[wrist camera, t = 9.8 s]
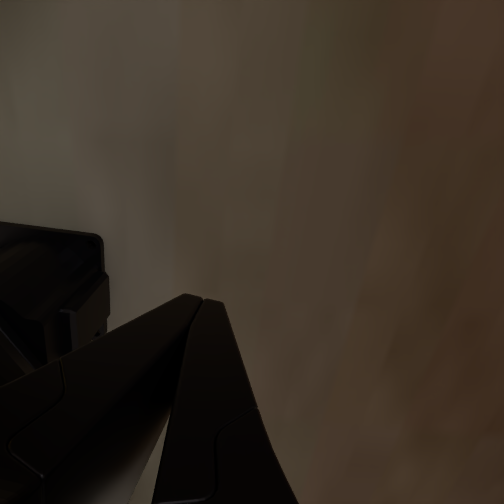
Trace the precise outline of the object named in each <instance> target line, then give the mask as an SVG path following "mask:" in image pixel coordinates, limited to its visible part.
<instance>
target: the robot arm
mask: <svg viewBox="0 0 504 504" xmlns="http://www.w3.org/2000/svg"><path fill="white" fill-rule="evenodd" d="M90 241H94V242H95V244H96V247H94V246H92V245H91V244H90ZM109 315H110V292H109V276H108V275H107V273H106V272H105V265H104V243H103V240H102V238H101V237H100V236H99V235H97V234H94V233H86V232H79V231H71V230H63V229H55V228H47V227H39V226H32V225H24V224H16V223H8V222H0V504H128V502H129V500H130V497H131V495H132V493H133V491H134V489H135V487H136V485H137V483H138V481H139V479H140V476H141V474H142V472H143V470H144V468H145V466H146V464H147V462H148V460H149V457H150V455H151V453H152V451H153V449H154V447H155V445H156V443H157V441H158V439H159V436H160V434H161V432H162V430H163V428H164V426H165V424H166V422H167V420H168V418H169V422H168V427H167V432H166V436H165V441H164V446H163V451H162V455H161V460H160V465H159V470H158V474H157V479H156V484H155V489H154V493H153V498H152V503H151V504H299V503H298V501H297V499H296V497H295V495H294V493H293V491H292V489H291V487H290V485H289V483H288V481H287V479H286V477H285V475H284V472H283V470H282V468H281V466H280V464H279V462H278V459H277V457H276V455H275V453H274V451H273V448H272V446H271V443H270V440H269V437H268V435H267V432H266V429H265V427H264V424H263V421H262V418H261V415H260V412H259V410H258V409H257V408H258V406H257V403H256V400H255V397H254V394H253V391H252V388H251V385H250V382H249V379H248V376H247V373H246V370H245V367H244V363H243V360H242V357H241V354H240V351H239V348H238V345H237V342H236V339H235V336H234V333H233V330H232V327H231V324H230V321H229V318H228V315H227V312H226V309H225V306H224V303H223V302H220V301H216V300H211V299H204V300H203V299H202V298H201V297H199V296H195V295H191V294H186V293H185V294H182V295H180V296H178V297H176V298H174V299H172V300H170V301H168V302H166V303H164V304H162V305H161V306H159V307H157V308H155V309H153V310H151V311H149V312H147V313H145V314H143V315H141V316H139V317H137V318H135V319H133V320H131V321H130V322H128V323H126V324H124V325H122V326H120V327H118V328H116V329H114V330H112V331H110V332H108V333H107V318H108V316H109ZM98 330H99V331H100V333H98V332H97V331H98ZM91 339H92V340H93V341H91ZM90 341H91V342H90ZM169 415H170V417H169Z"/></svg>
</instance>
